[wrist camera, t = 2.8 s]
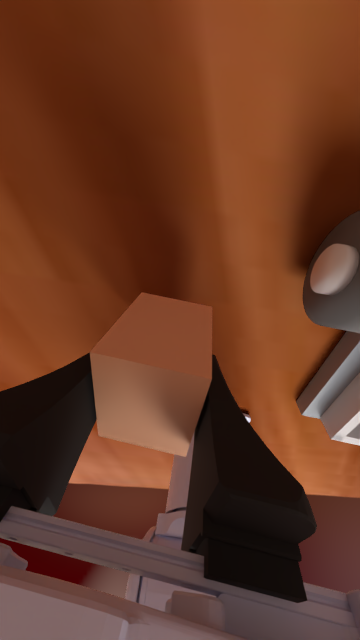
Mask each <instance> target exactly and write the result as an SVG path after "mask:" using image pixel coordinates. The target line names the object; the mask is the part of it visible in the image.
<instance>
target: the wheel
mask: <svg viewBox="0 0 360 640" xmlns="http://www.w3.org/2000/svg"><path fill="white" fill-rule="evenodd" d="M303 304H304V309H305V312H306V314H307V316H308V317H309V318H310V319H311V320H312V321H313V322H314V323H316V324H318V325H321V326H326V327H331V328H336V329H341V330H346V331H351V332H356V333H360V211H358V212H355V213H354V214H352V215H350V216H348V217H347V218H346V219H344V220H343V221H342V222H341V223H339V224H338V225H337V226H336V227H335V228H334V229H333V230H332V231H331V232H330V233H329V235H328V236H327V237H326V238H325V240H324V241H323V242H322V244H321V245H320V247H319V248H318V250H317V252H316V253H315V255H314V257H313V259H312V261H311V263H310V266H309V268H308V271H307V274H306V277H305V281H304V287H303Z"/></svg>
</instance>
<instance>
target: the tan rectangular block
mask: <svg viewBox="0 0 360 640" xmlns="http://www.w3.org/2000/svg"><path fill="white" fill-rule="evenodd" d="M90 360H91V369H92V379H93V388H94V398H95V408H96V417H97V427H98V436H102V437H106V438H110V439H114V440H118V441H122V442H126V443H130V444H134V445H138V446H142V447H146V448H151V449H155V450H159V451H163V452H167V453H171V454H175V455H179V456H183V457H186V455H187V452H188V449H189V446H190V443H191V440H192V437H193V434H194V431H195V428H196V425H197V422H198V419H199V416H200V413H201V410H202V407H203V404H204V401H205V398H206V395H207V392H208V389H209V386H210V383H211V380H212V307H211V306H207V305H202V304H197V303H192V302H187V301H182V300H177V299H172V298H167V297H162V296H158V295H153V294H148V293H143V292H141V294H140V295H139V296H138V297H137V298H136V299H135V301H134V302H133V303H132V304H131V305H130V306H129V307H128V309H127V310H126V311H125V312H124V313H123V314H122V315H121V317H120V318H119V319H118V320H117V321H116V322H115V324H114V325H113V326H112V327H111V328H110V329H109V330H108V332H107V333H106V334H105V335H104V336H103V337H102V338H101V340H100V341H99V342H98V343H97V344H96V345H95V347H94V348H93V349H92V350H91V351H90Z"/></svg>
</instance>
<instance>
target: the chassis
mask: <svg viewBox="0 0 360 640" xmlns="http://www.w3.org/2000/svg"><path fill="white" fill-rule="evenodd" d="M296 403H297V405H298V407H299V410H300V412H301V414H302V415H305V416H309V417H314V418H318V419H321V421H322V423H323V425H324V427H325V429H326V431H327V433H328V435H329V437H330V438H331V439H333V440H337V441H342V442H346V443H350V444H355V445H359V446H360V333H356V332H351V331H346V333H345V334H344V336H343V337H342V338H341V340H340V341H339V343H338V344H337V345H336V347H335V348H334V349H333V351H332V352H331V354H330V355H329V356H328V358H327V359H326V361H325V362H324V363H323V365H322V366H321V368H320V369H319V370H318V372H317V373H316V374H315V376H314V377H313V379H312V380H311V381H310V383H309V384H308V386H307V387H306V388H305V390H304V391H303V392H302V394H301V395H300V397H299V398H298V399H297V401H296Z"/></svg>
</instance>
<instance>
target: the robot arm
mask: <svg viewBox="0 0 360 640" xmlns="http://www.w3.org/2000/svg"><path fill="white" fill-rule="evenodd" d="M96 419H97V417H96V408H95V398H94V388H93V379H92V369H91V360H90V353H88V354H86V355H84V356H83V357H81V358H79V359H77V360H76V361H74V362H72V363H70V364H68V365H66V366H64V367H62V368H60V369H58V370H56V371H54V372H51V373H49V374H47V375H44V376H42V377H39V378H37V379H34V380H32V381H29V382H27V383H24V384H21V385H18V386H16V387H13V388H10V389H7V390H4V391H1V392H0V538H3V539H7V540H10V541H14V542H18V543H21V544H25V545H29V546H32V547H36V548H40V549H43V550H47V551H51V552H55V553H59V554H62V555H66V556H69V557H73V558H77V559H80V560H84V561H88V562H91V563H95V564H99V565H102V566H106V567H110V568H114V569H117V570H121V571H125V572H129V573H130V575H129V579H128V584H127V589H126V595H125V599H123V598H120V597H116V596H114V595H111V594H107V593H104V592H101V591H97V590H94V589H91V588H87V587H84V586H80V585H77V584H73V583H70V582H66V581H63V580H59V579H55V578H52V577H48V576H44V575H40V574H37V573H33V572H29V571H25V569H26V567H27V565H28V563H27V561H26V560H24V559H23V558H21V557H19V556H18V555H16V554H15V553H14V552H13V551H12V550H11V547H10V546H7V545H5V544H2V543H0V640H360V589H357V590H351V591H349V592H348V593H347V594H346V593H342V592H338V591H335V590H331V589H327V588H323V587H319V586H316V585H312V584H308V583H304V582H303V580H302V576H301V572H300V568H299V563H298V562H300V561H301V554H300V549H299V546H298V543H300V542H301V541H303V540H305V539H307V538H308V537H310V536H311V535H312V534H314V533H315V531H316V527H317V525H316V522H315V518H314V515H313V512H312V509H311V506H310V504H309V501H308V499H307V497H306V494H305V492H304V489H303V487H302V485H301V484H300V483H299V482H298V481H297V480H296V479H295V478H294V477H293V476H292V475H291V474H290V473H289V471H288V470H287V469H286V468H285V467H284V466H283V465H282V464H281V463H280V462H279V461H278V459H277V458H276V457H275V456H274V455H273V453H272V452H271V451H270V450H269V449H268V448H267V446H266V445H265V444H264V442H263V441H262V440H261V438H260V437H259V436H258V434H257V433H256V432H255V431H254V429H253V428H252V426H251V425H250V423H249V422H250V421H251V417H250V415H248V414H244V413H242V411H241V410H240V408H239V406H238V405H237V403H236V401H235V399H234V397H233V396H232V394H231V392H230V390H229V388H228V386H227V384H226V381H225V379H224V377H223V375H222V372H221V370H220V367H219V365H218V362H217V359H216V357H215V355H212V380H211V383H210V386H209V389H208V392H207V395H206V398H205V401H204V404H203V407H202V410H201V413H200V416H199V419H198V422H197V425H196V428H195V431H194V434H193V437H192V440H191V443H190V446H189V449H188V452H187V455H186V457H183V456H179V455H175V454H174V460H173V467H172V473H171V480H170V486H169V493H168V500H167V506H166V513H165V514H161V513H160V514H158V520H157V526H154V527H152V528H150V529H149V531H148V532H147V533H146V536H145V537H144V538H143V539H142V540H140V539H136V538H133V537H129V536H125V535H121V534H117V533H114V532H110V531H106V530H102V529H98V528H94V527H91V526H87V525H83V524H79V523H75V522H71V521H67V520H64V519H60V518H56V517H53V515H54V514H55V513H56V512H57V509H58V507H59V505H60V502H61V500H62V497H63V495H64V492H65V490H66V487H67V485H68V482H69V480H70V477H71V475H72V473H73V470H74V468H75V466H76V463H77V461H78V459H79V456H80V454H81V452H82V450H83V447H84V445H85V443H86V441H87V439H88V436H89V434H90V432H91V430H92V428H93V426H94V424H95V421H96Z"/></svg>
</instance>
